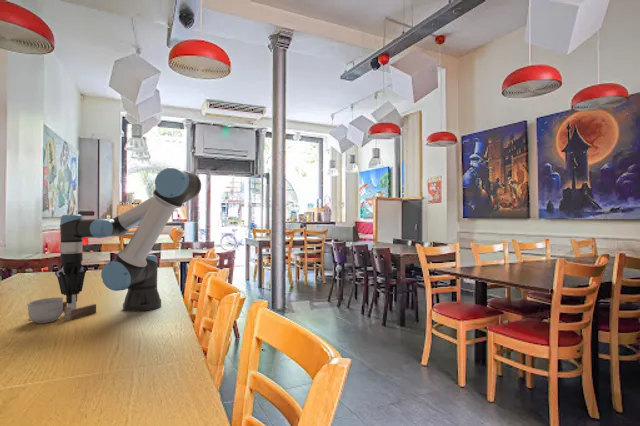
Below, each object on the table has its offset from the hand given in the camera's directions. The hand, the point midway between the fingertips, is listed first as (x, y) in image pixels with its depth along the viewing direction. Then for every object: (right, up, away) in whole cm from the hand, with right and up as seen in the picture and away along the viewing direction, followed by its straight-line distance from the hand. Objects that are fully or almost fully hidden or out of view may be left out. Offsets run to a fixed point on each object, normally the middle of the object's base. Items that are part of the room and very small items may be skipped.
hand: (71, 310), depth 151 cm
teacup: (-3, -1, -9) cm, 10 cm away
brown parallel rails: (-1, -1, -2) cm, 2 cm away
